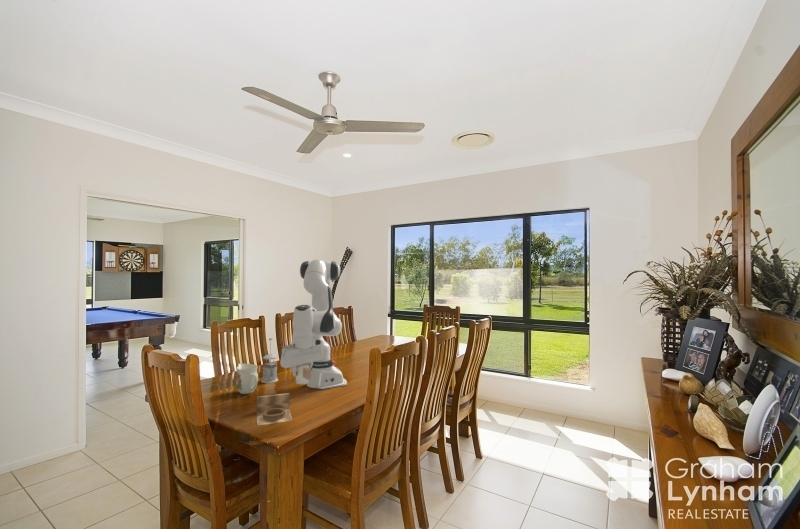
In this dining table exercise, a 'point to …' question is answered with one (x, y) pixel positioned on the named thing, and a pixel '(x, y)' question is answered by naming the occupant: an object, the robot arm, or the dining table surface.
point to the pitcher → (246, 378)
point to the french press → (270, 368)
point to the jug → (303, 374)
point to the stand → (273, 409)
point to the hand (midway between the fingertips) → (301, 373)
